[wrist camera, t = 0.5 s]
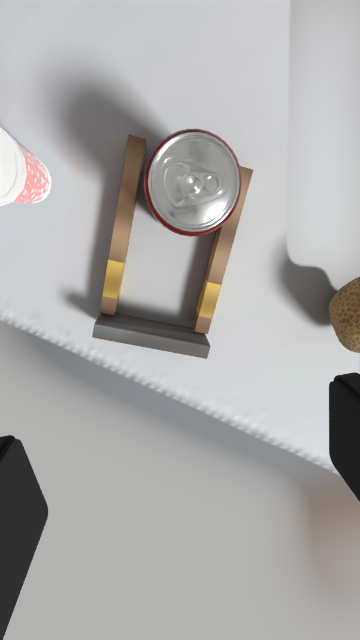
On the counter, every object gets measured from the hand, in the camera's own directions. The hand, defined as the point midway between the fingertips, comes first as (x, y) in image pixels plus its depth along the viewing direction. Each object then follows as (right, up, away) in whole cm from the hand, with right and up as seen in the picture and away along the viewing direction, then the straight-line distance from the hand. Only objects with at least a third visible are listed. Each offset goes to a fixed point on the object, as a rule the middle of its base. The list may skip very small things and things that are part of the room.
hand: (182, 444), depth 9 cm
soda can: (0, +17, +24) cm, 30 cm away
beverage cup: (-16, +18, +22) cm, 33 cm away
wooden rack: (-1, +12, +25) cm, 28 cm away
